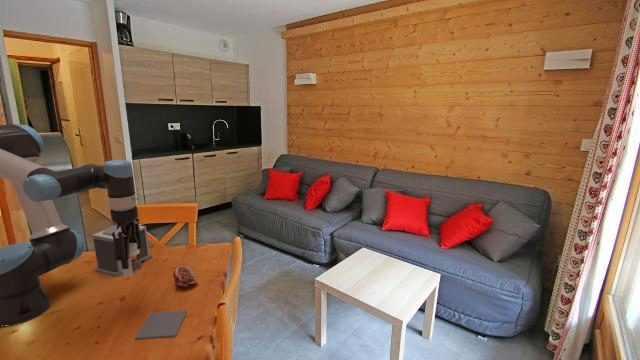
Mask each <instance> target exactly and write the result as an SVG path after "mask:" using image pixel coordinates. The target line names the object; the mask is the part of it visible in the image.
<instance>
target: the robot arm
mask: <svg viewBox="0 0 640 360" xmlns="http://www.w3.org/2000/svg"><path fill="white" fill-rule="evenodd" d="M44 146H45V143H44V140H43V138H42V137H41V135H40V133H39V132H38V131H37V130H35V128H33V127H31V126H30V125H26V124H15V123H14V124H13V123H11V124H0V178H1V179H3V180H6V181H8V182H10V183H11V186H12V188H13V190H14V193H15V195H16V198H17V200H18V202H19V204H20V207H21V209H22V212H23V214H24V216H25V218H26V221H27V223H28V225H29V228H30V231H31V234H30V235H29V238H28V240H29V242H27V241H26V242H24V241H23V242H17V243H15V244H9V245H5V246H3V247H1V248H0V326H2V325H3V326H4V327H6V326H5V325H11V326H14V325H13V324H16V325H18V324H17V323H19V324H22V323H25V322H28V321H31V320H32V318H33V319H34V317H35V318H37V317H39V316H40V315H42V314H43V313H45V312H46V311H47V310H48V309H49V308H50V307H51V305H52V299H51V298H52V297H51V296H50V295H49V293H47V292H46V290H45V289H44V287H43V286H42V284H41V281H40V277H41V276H42V275H45V274H47V273H49V272H52V271H54V270H56V269H58V268H60V267H62V266H65V265H68V264H70V263H71V262H73V261H75V260H77V259H78V258H80V257H81V255H82V253H83V251H84V248H85V247H84V240H83V237H82V236H81V234H80V233H79V232H78V231H77V230H75V229H70V227H69V226H68V225H66V224H64V223H62V221H61V218H60V215H59V213H58V211H57V208H56V205H55V203H54V201H53V200H55V199H59V198H62V197H67V196H70V195H74V194H78V193H83V192H86V191H90V190H93V189H105V190H106V191H107V192H106V193H107V197H108V206H109V209H110V213H109V214H110V218H111V221H113V222H114V223H116V225H117V231H116V232H113V233H112V236H113V239H114V247H115V255H116V261H121V265H122V272H123V274H122V277H123V278H130V277H133V276H134V275H133V272H132V265H131V258H129V243H136V244H137V249H138V248H142V245H140V244H142V241H141V235H140V228H139V225H140V218H139V210H138V207H137V200H138V198H137V197H136V188H135V178H134V171H133V165H132V163H131V161H130V160H126V159H113V160H108V161H105V162H104V163H103V165H100V164H94V163H87V164H86V163H85V164H84V163H83V164H80V165H78V166H77V167H75V168H68V169H64V170H57V171H56V170H53V169H50V168H48V167H45V166H43V165H40V164H38V162H40V160H41V158H42V157H41V154H42V153H43V152H44V148H45V147H44ZM138 250H139V249H138ZM27 320H28V321H27ZM24 321H25V322H24ZM21 322H22V323H21Z"/></svg>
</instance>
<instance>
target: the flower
mask: <svg viewBox="0 0 640 360" xmlns="http://www.w3.org/2000/svg"><path fill="white" fill-rule="evenodd" d="M172 272H173V273H172V274H173V280H174V283H175V284H174V285H173V286H176V287H178V286H180V288H184V289H186V287H189V286H190V285H189V284H191V285H193V284H195V283H196V282H198V279H197V278H196V277H195V274H196V273H194V272H193V270H192V268H191V267H190V266H189V265H188V264H187V265H183V264H181V265H176V267H175V269H174V270H173V271H172Z"/></svg>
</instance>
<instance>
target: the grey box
mask: <svg viewBox="0 0 640 360" xmlns="http://www.w3.org/2000/svg"><path fill="white" fill-rule="evenodd" d="M139 228H140V235H141V241H142V244H140V245H142V248H138V249H139V251H140V257H141V262H144V263H146V262H147V261H149V260H151V259H152V258H153V257H152V254H151V253H150V249H149V240H148V232H147V226H145V225H140V224H139ZM116 231H117V224H115V225H112V226H110V227H108V228H106V229H103V230H102V231H99V232H96V233H94V234H92V240H93V241H92V242H93V246H94V247H93V248H94V254H95V258H96V264H97V266H96V267H95V268H94V269H95V273H98V274H101V275H105V276H110V277H114V278H118V277H120V276H123V272H122V265H121V261H116V255H115V247H114V239H113V236H112V233H113V232H116Z"/></svg>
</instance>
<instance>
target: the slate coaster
mask: <svg viewBox="0 0 640 360" xmlns="http://www.w3.org/2000/svg"><path fill="white" fill-rule="evenodd" d="M187 312H188V310H186V309H185V310H183V309H182V310H173V311H172V310H171V311H169V310H168V311H156V312H155V311H154V312H153V311H152V312H150V313H149V315H148V316H147V318H146V319H145V320H144V323H143V324H142V326H141V327H140V329H139V330H138V332H137V334H136V335H135V337H134V340H135V341H136V340H149V339H161V338H163V339H164V338H175V337H177V335H178V333H179V331H180V329H181V325H182V323H183V322H184V320H185V317H186V314H187Z"/></svg>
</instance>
